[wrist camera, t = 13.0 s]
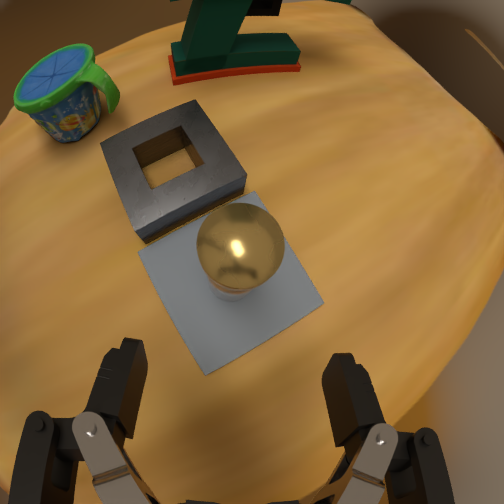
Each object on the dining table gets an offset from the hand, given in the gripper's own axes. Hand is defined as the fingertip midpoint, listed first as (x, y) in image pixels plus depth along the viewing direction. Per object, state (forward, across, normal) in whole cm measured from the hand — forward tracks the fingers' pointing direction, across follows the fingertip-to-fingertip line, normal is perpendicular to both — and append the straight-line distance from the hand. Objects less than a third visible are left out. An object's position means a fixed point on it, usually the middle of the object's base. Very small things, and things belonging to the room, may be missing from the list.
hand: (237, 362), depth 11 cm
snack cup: (+27, +22, -7) cm, 36 cm away
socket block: (+21, +7, -1) cm, 23 cm away
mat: (+14, 0, +6) cm, 15 cm away
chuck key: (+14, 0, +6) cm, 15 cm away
